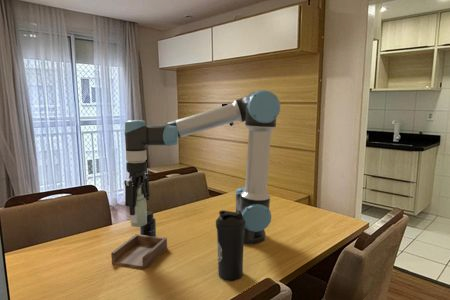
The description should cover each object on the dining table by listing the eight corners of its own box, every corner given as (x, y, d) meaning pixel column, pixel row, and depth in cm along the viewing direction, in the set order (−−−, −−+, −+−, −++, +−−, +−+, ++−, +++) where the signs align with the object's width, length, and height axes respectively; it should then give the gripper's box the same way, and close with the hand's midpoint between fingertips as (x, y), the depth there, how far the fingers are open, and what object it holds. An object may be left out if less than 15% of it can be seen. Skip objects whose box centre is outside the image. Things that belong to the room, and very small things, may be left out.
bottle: (149, 221, 119) (148, 183, 117) (141, 227, 114) (140, 187, 111) (136, 220, 121) (134, 182, 118) (127, 225, 115) (126, 186, 113)
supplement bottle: (152, 242, 130) (151, 216, 129) (137, 241, 132) (136, 215, 130) (158, 235, 137) (157, 210, 135) (144, 234, 138) (143, 209, 137)
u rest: (167, 248, 125) (166, 238, 125) (145, 269, 109) (145, 257, 108) (136, 243, 129) (136, 234, 129) (111, 263, 113) (111, 252, 112)
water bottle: (215, 267, 111) (214, 207, 107) (242, 265, 111) (243, 206, 108) (216, 283, 101) (216, 218, 97) (246, 281, 101) (247, 217, 98)
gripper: (141, 156, 124) (143, 210, 127) (112, 165, 105) (115, 227, 109) (157, 157, 121) (159, 212, 125) (130, 166, 103) (133, 230, 107)
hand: (138, 219), depth 117 cm, fingers closed on bottle, 6 cm apart
